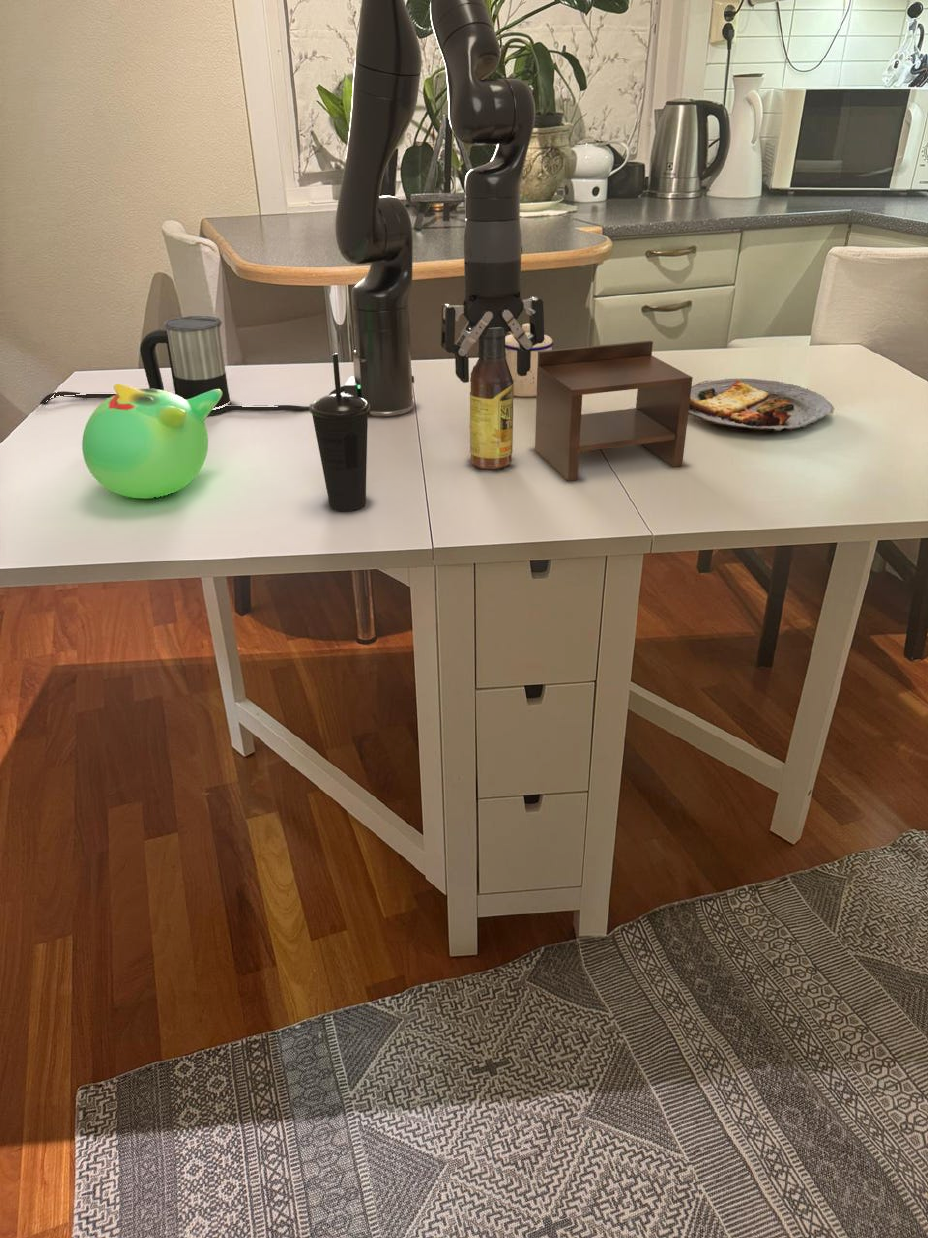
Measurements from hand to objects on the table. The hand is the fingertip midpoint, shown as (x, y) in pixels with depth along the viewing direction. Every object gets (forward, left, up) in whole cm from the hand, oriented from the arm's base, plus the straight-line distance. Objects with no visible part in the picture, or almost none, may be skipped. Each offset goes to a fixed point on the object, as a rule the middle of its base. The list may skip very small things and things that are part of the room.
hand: (493, 378), depth 128 cm
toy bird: (-47, +5, -13) cm, 49 cm away
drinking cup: (-23, -8, -13) cm, 28 cm away
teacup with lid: (+16, +32, -13) cm, 38 cm away
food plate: (+48, +7, -13) cm, 50 cm away
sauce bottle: (0, 0, -13) cm, 13 cm away
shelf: (+17, -3, -13) cm, 21 cm away
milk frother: (-41, +37, -13) cm, 57 cm away
